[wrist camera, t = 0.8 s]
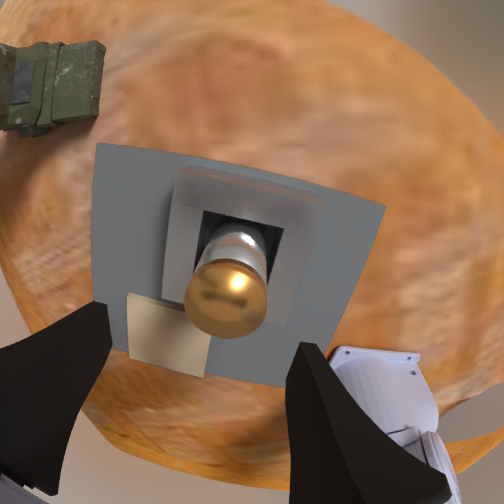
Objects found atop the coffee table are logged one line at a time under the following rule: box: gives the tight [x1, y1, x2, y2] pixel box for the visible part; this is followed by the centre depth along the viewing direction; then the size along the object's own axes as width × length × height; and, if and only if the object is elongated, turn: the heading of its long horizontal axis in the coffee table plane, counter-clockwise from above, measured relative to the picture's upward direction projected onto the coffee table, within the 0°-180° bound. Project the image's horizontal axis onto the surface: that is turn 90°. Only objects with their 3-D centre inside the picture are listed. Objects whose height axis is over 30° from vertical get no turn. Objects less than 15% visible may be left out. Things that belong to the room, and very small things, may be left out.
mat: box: [91, 143, 386, 387], centre depth 21 cm, size 20×18×1 cm
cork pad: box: [127, 293, 211, 378], centre depth 22 cm, size 7×7×1 cm
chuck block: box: [161, 165, 325, 325], centre depth 17 cm, size 8×8×3 cm
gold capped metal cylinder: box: [184, 215, 267, 339], centre depth 15 cm, size 3×3×8 cm
